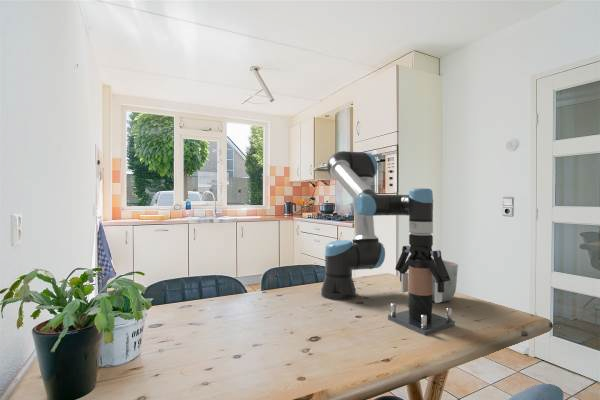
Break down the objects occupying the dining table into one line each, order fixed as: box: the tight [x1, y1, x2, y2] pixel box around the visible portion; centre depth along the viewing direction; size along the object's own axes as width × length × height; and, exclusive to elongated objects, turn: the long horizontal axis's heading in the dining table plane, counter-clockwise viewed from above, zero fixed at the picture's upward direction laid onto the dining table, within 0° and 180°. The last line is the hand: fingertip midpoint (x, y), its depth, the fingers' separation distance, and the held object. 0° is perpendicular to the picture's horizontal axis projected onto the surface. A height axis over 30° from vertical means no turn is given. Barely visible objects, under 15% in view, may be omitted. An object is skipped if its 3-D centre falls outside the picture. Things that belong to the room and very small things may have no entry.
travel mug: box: [407, 258, 433, 322], centre depth 108 cm, size 8×8×20 cm
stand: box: [387, 302, 456, 336], centre depth 108 cm, size 15×15×6 cm
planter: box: [432, 258, 459, 303], centre depth 135 cm, size 17×17×15 cm
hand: (420, 296), depth 108 cm, fingers open, 13 cm apart
